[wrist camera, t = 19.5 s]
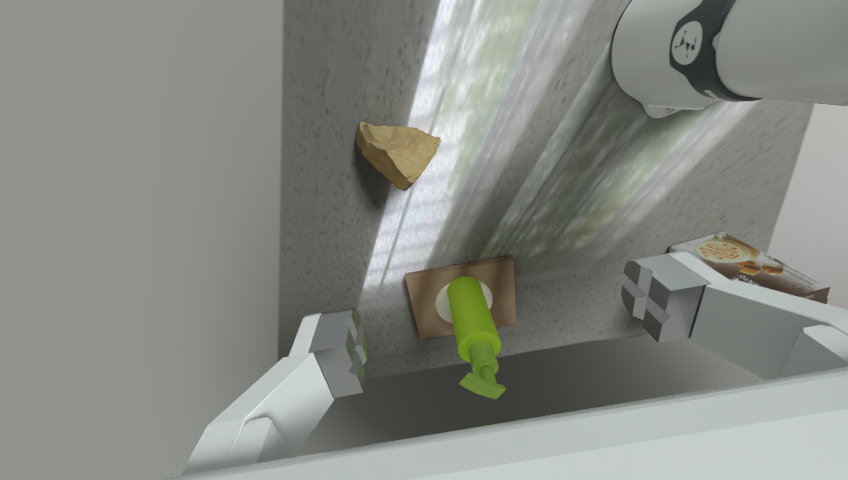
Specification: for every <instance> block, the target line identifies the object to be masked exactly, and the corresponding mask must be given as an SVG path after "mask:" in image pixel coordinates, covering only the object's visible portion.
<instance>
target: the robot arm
mask: <svg viewBox="0 0 848 480" xmlns="http://www.w3.org/2000/svg"><path fill="white" fill-rule="evenodd" d="M612 68H613V72H614V76H615V78H616V80H617V82H618V84H619V86H620V87H621V88H622V90H623V91H624V92H625V93H627V94H628V95H629V96H631V97H633V98H634V99H636V100H638V101H639V102H640V103H641V104H642V105H643V107H644V109H645V111H646V113H647V114H648V115H649V116H650V117H651V118H662V117H665V116H668V115H670V114H673V113H676V112H678V111H681V110H684V109H686V110H703V109H704V108H705V107H706V106H709V105H712V104H715V103H717V102H719V101H732V102H739V101H755V100H760V99H764V98H765V99H776V100H786V101H797V102H808V103H818V104H829V105H838V106H848V0H632V1H631V3H630V4H629V5H628V7H627V9H626V10H625V12H624V14H623V16H622V18H621V20H620V22H619V24H618V27H617V29H616V32H615V36H614V40H613V45H612ZM624 273H625V275H626V276H627V277H628V279H627V280H626V281H625V282H624V283H623V285H622V292H621V295H622V299H623V303H624V305H625V307H626V308H627V310H628V311H629V312H630V313H631V314H632V316H635V317H637V318H639V319H642V320H643V325H642V326H643V327H644V328H645V330H646V331H647V332H648V333H649V334H650V335H651V336H652V337H653V338H654V339H655V340H656V341H657V342H658V343H663V342H670V341H677V340H685V339H690V341H692V342H694V343H696V344H698V345H700V346H702V347H704V348H706V349H707V350H709V351H711V352H713V353H715V354H717V355H719V356H721V357H723V358H725V359H727V360H728V361H730V362H732V363H734V364H736V365H738V366H740V367H742V368H744V369H746V370H748V371H750V372H752V373H753V374H755V375H757V376H759V377H761V378H763V379H765V380H762V381H756V382H751V383H744V384H738V385H732V386H726V387H720V388H713V389H708V390H702V391H696V392H689V393H683V394H677V395H671V396H665V397H659V398H652V399H646V400H641V401H635V402H628V403H622V404H616V405H610V406H604V407H598V408H592V409H586V410H580V411H574V412H567V413H561V414H555V415H549V416H542V417H537V418H531V419H524V420H518V421H512V422H506V423H500V424H494V425H488V426H482V427H475V428H469V429H463V430H457V431H451V432H445V433H439V434H433V435H427V436H421V437H414V438H408V439H402V440H397V441H390V442H384V443H378V444H372V445H366V446H359V447H353V448H347V449H341V450H335V451H329V452H323V453H317V454H311V455H305V456H299V457H295V456H296V454H297V453H298V452H299V450H300V449H301V447H302V446H303V444H304V443H305V441H306V440H307V439H308V437H309V435H310V434H311V433H312V431H313V430H314V428H315V427H316V425H317V424H318V423H319V421H320V420H321V418H322V417H323V415H324V414H325V413H326V411H327V409H328V408H329V407H330V405H331V404H332V402H333V401H334V398H338V397H343V396H348V395H353V394H358V393H363V390H364V382H365V374H366V373H365V370H364V367H363V365H364V363H365V362H366V361H367V355H368V349H367V340H366V335H365V332H364V329H362V328H361V327H360V326H359V321H360V317H359V314H358V312H357V310H356V309H355V308H351V309H344V310H338V311H331V312H324V313H319V314H313V315H307V316H305V317H304V318H303V320H302V322H301V325H300V328H299V330H298V333H297V335H296V338H295V340H294V343H293V346H292V348H291V351H290V353H289V356H288V357H284V358H282V359H281V360H280V361H279V362H278V363H277V364H276V365H274V366H273V367H272V368H271V369H270V370H269V371H268V372H267V373H265V374H264V375H263V376H262V377H261V378H260V379H259V380H258V381H257V382H255V383H254V384H253V385H252V386H251V387H250V388H249V389H248V390H246V391H245V392H244V393H243V394H242V395H241V396H240V397H239V398H238V399H236V400H235V401H234V402H233V403H232V404H231V405H230V406H229V407H228V408H227V409H225V410H224V411H223V412H222V413H221V414H220V415H219V416H218V417H216V418H215V419H214V420H213V421H212V422H211V423H210V424H209V425H208V426H207V427H206V429H205V432H204V433H203V435H202V437H201V439H200V440H199V443H198V444H197V446H196V448H195V450H194V452H193V453H192V455H191V457H190V459H189V461H188V463H187V465H186V467H185V468H184V470H183V472H182V474H181V476H177V477H171V478H165V479H158V480H848V310H846V309H842V308H838V307H835V306H831V305H827V304H823V303H820V302H816V301H812V300H809V299H805V298H801V297H798V296H794V295H790V294H787V293H783V292H779V291H775V290H772V289H768V288H764V287H761V286H757V285H753V284H750V283H746V282H742V281H738V280H735V281H731V280H729V279H727V278H726V277H724V276H723V275H721V274H720V273H718V272H717V271H715V270H714V269H712V268H711V267H709V266H707V265H706V264H704V263H703V262H701V261H700V260H698V259H697V258H695V257H694V256H692V255H690V254H689V253H687V252H684V251H676V252H671V253H666V254H662V255H659V256H653V257H647V258H642V259H636V260H630V261H628V262H627V263H626V265H625V269H624Z"/></svg>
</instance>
